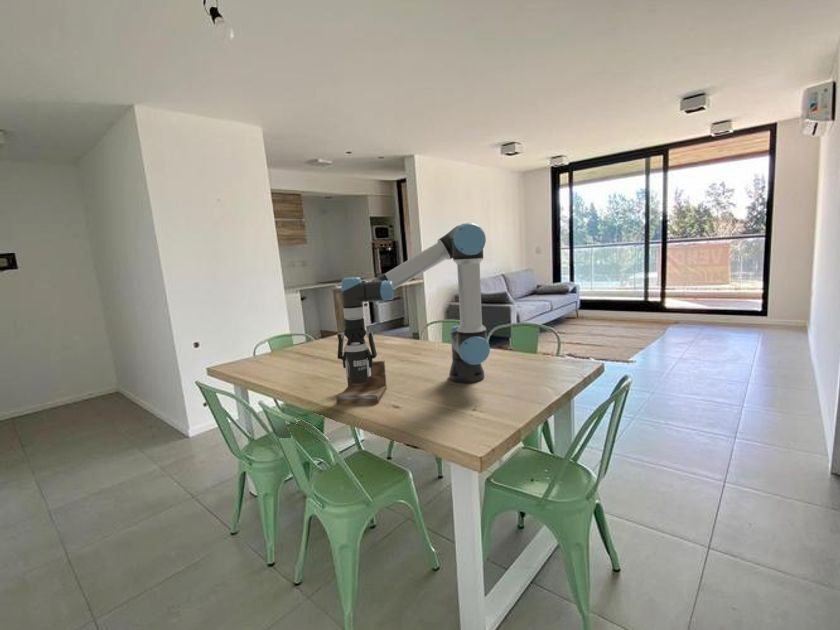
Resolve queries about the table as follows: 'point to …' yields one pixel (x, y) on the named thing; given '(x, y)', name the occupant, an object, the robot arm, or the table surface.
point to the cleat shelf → (366, 387)
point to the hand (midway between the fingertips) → (358, 375)
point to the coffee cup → (357, 362)
